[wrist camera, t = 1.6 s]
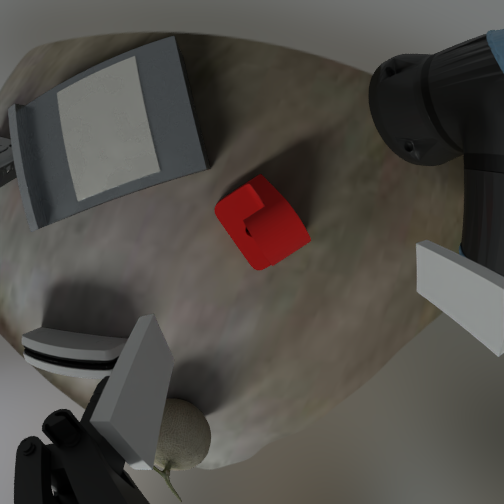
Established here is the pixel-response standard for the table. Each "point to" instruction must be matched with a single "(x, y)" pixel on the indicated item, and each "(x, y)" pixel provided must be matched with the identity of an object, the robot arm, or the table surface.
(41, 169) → the grey ridged box
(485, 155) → the robot arm
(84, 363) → the grey curved slab
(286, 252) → the bracket
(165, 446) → the fruit
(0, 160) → the electrical switch
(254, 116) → the table surface
